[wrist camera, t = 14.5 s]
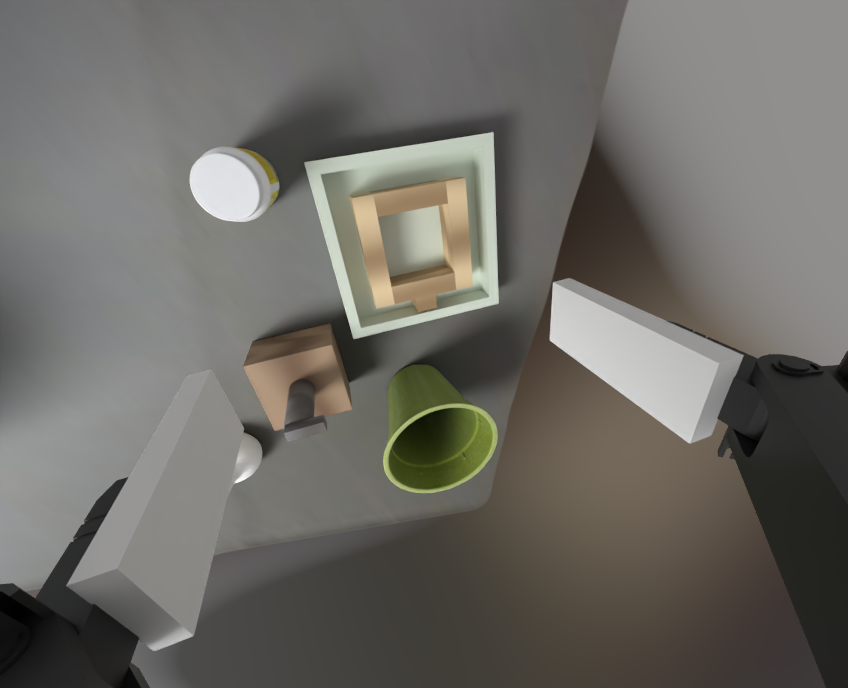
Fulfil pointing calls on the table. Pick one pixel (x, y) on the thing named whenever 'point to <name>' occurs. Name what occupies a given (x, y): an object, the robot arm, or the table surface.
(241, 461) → the garlic bulb
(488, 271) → the tray
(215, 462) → the robot arm
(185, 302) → the table surface
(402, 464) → the plant pot
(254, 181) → the supplement bottle
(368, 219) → the wooden frame with peg
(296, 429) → the wooden block
